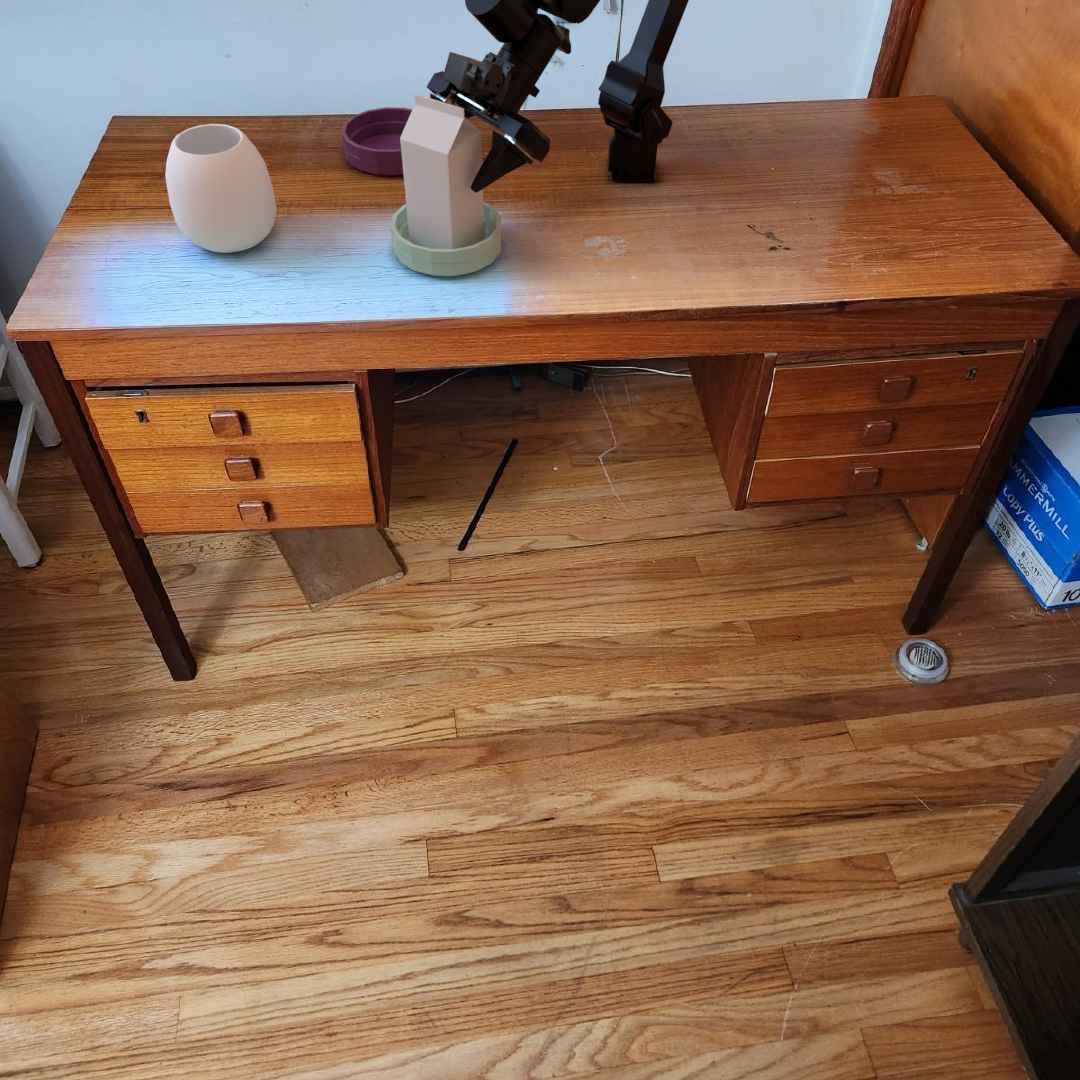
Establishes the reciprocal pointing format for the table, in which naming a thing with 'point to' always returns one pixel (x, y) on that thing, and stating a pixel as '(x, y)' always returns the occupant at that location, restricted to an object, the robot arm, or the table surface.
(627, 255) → the table surface
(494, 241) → the celadon bowl
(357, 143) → the plum bowl
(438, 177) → the milk carton
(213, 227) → the cup
